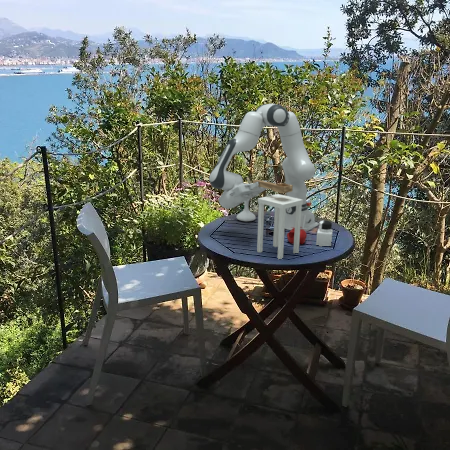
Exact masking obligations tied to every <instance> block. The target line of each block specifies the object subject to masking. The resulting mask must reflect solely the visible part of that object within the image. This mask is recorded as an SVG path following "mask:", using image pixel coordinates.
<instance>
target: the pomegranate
mask: <svg viewBox="0 0 450 450" xmlns="http://www.w3.org/2000/svg"><path fill="white" fill-rule="evenodd" d="M291 228H293V229H291V230H289V231H288V232H287V234H286V239H287V241H288V243H290V244H292V245H294V233H295V228H294V227H291ZM300 228H302V227H300ZM307 237H308V235H307V231H304V229H300V240H299V245H303V244H305V242H306V241H307Z"/></svg>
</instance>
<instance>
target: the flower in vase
mask: <svg viewBox="0 0 450 450" xmlns="http://www.w3.org/2000/svg"><path fill="white" fill-rule="evenodd" d="M246 181H247V184H251V183H253V182H252V180H251V179H250V178H249V177H248V176H247V177H246ZM250 200H251V199H249V200H247V201H245V202H243V203H244V207H243V210H242V211H241V212H239V213H238V214H237V215H236V219H237V220H239V221H242V222H252V221H255V220H256V219H257V216H256V215H255V214H254V213H253V212H251V211H250V209H249V204H250Z"/></svg>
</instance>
